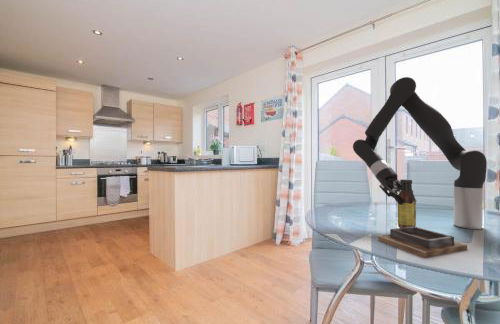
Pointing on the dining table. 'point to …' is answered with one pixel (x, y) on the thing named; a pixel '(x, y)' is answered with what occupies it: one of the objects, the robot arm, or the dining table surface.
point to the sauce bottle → (407, 205)
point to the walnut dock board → (422, 241)
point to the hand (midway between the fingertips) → (408, 203)
